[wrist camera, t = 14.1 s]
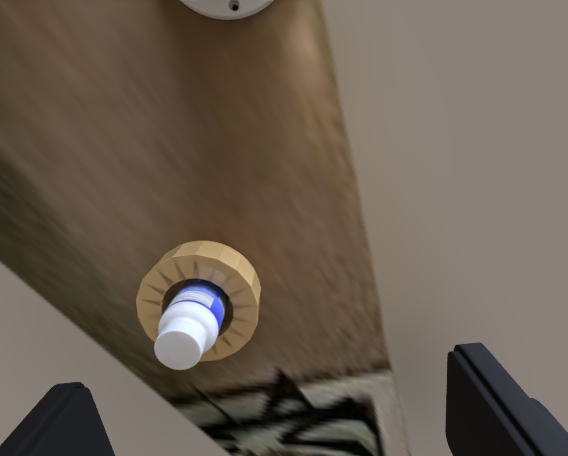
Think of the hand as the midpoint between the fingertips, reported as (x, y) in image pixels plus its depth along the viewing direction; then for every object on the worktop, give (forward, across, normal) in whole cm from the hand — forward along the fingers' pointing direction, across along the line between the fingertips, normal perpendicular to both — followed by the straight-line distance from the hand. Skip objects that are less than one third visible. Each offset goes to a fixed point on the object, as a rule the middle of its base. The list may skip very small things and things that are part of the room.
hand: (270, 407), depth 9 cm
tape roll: (+26, +10, +10) cm, 30 cm away
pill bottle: (+26, +10, +10) cm, 30 cm away
